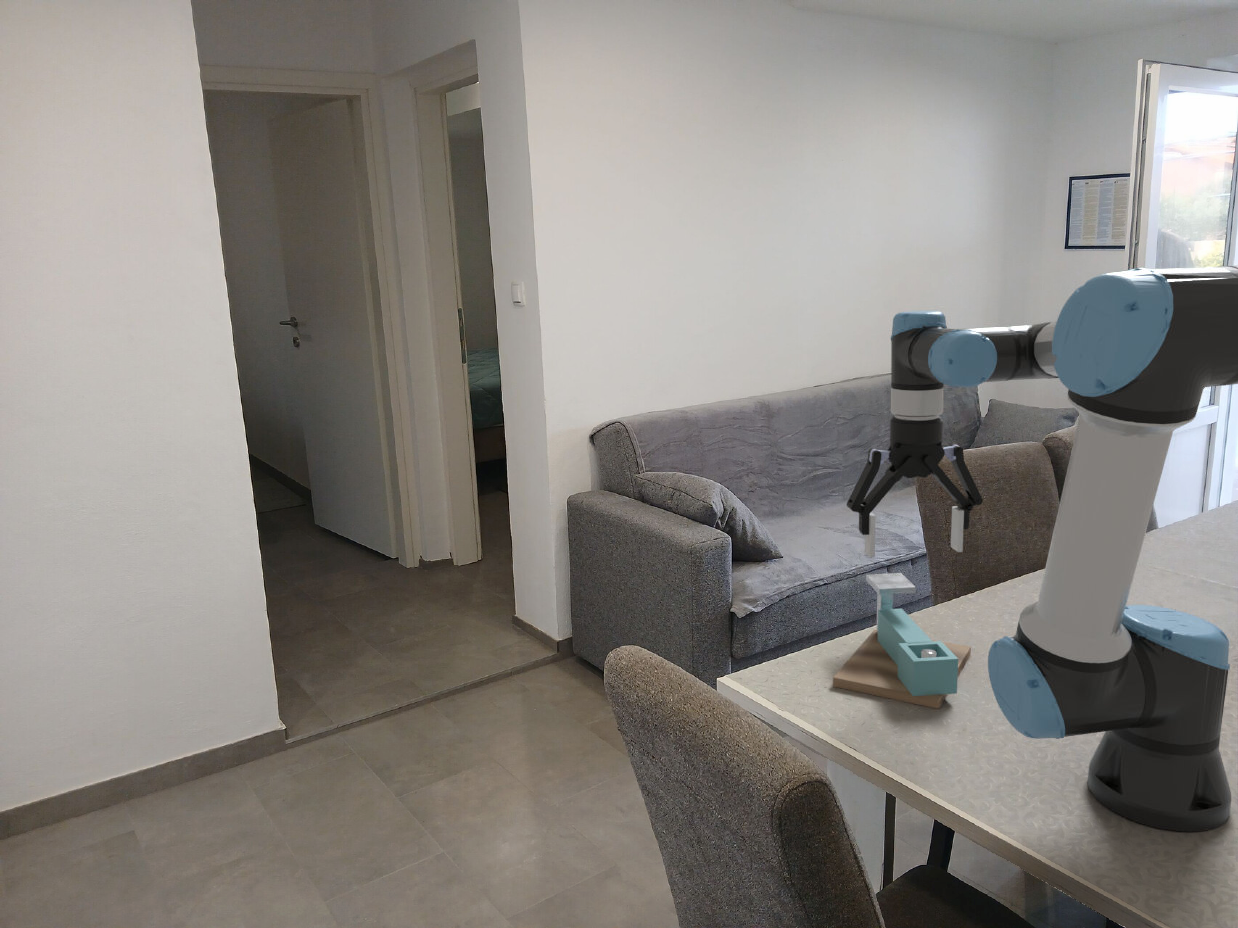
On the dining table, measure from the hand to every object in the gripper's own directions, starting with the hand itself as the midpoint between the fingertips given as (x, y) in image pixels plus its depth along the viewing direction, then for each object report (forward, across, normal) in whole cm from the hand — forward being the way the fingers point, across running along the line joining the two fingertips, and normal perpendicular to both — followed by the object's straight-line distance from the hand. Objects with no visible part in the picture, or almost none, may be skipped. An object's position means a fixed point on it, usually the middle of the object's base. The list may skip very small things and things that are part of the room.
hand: (913, 552), depth 147 cm
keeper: (+20, 0, -10) cm, 22 cm away
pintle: (+20, 0, +8) cm, 22 cm away
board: (+20, +1, -1) cm, 20 cm away
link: (+19, 0, 0) cm, 19 cm away
